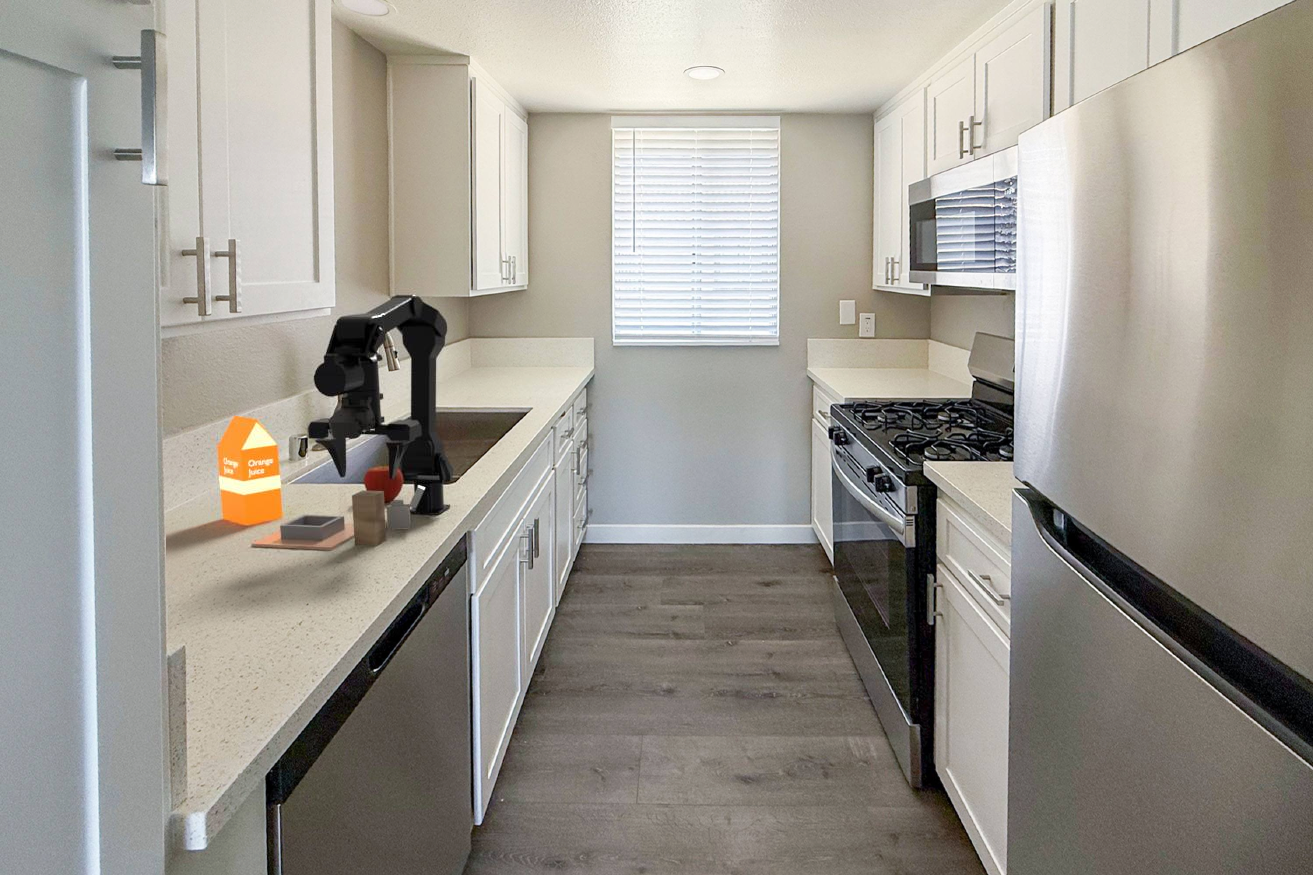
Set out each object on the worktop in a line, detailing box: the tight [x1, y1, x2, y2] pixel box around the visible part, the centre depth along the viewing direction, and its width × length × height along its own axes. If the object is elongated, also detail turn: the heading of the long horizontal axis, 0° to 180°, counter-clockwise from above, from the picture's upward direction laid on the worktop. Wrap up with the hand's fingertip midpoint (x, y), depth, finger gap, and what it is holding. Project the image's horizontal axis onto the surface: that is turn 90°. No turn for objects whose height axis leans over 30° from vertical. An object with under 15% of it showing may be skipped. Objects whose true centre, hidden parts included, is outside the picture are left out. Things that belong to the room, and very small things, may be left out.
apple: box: [363, 464, 404, 503], centre depth 198 cm, size 8×8×8 cm
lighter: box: [385, 485, 425, 530], centre depth 176 cm, size 7×2×8 cm, turn 99°
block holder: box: [251, 514, 354, 551], centre depth 170 cm, size 15×15×3 cm
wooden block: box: [351, 490, 387, 547], centre depth 166 cm, size 4×4×9 cm
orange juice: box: [216, 415, 283, 526], centre depth 183 cm, size 8×9×20 cm
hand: (367, 477), depth 165 cm, fingers open, 9 cm apart
